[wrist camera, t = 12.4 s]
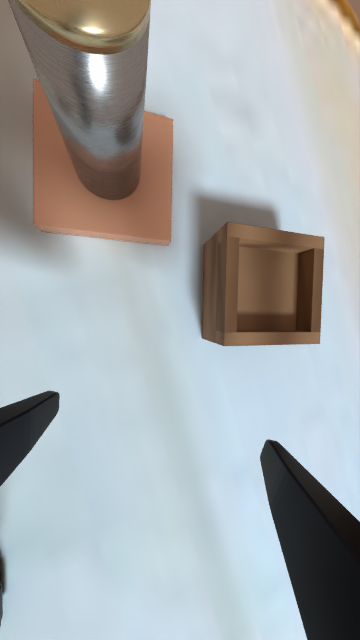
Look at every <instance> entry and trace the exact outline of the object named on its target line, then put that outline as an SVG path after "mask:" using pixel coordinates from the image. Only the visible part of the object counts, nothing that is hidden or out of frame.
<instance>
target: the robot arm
mask: <svg viewBox="0 0 360 640" xmlns="http://www.w3.org/2000/svg"><path fill="white" fill-rule="evenodd" d="M58 410H59V393H58V392H54V391H46V392H44V393H41V394H38V395H35V396H32V397H30V398H27V399H24V400H21V401H18V402H16V403H13V404H10V405H7V406H4V407H2V408H0V486H1V485H2V484H3V483H4V482H5V480H6V479H7V478H8V477H9V476H10V475H11V473H12V472H13V471H14V470H15V469H16V467H17V466H18V465H19V464H20V463H21V462H22V460H23V459H24V458H25V457H26V456H27V454H28V453H29V452H30V451H31V449H32V448H33V447H34V445H35V444H36V442H37V441H38V440H39V438H40V437H41V436H42V434H43V433H44V431H45V430H46V429H47V427H48V426H49V424H50V423H51V422H52V420H53V419H54V417H55V416H56V414H57V413H58ZM260 461H261V466H262V471H263V476H264V481H265V486H266V491H267V496H268V501H269V505H270V509H271V513H272V517H273V520H274V524H275V527H276V531H277V534H278V538H279V542H280V545H281V549H282V552H283V556H284V559H285V563H286V566H287V570H288V573H289V577H290V580H291V584H292V587H293V591H294V594H295V598H296V601H297V605H298V608H299V612H300V615H301V619H302V622H303V626H304V629H305V633H306V636H307V640H360V522H359V521H358V520H357V519H356V518H355V517H354V516H353V515H352V514H351V513H350V512H349V511H348V510H347V509H346V508H345V507H344V506H343V505H342V504H341V503H340V502H339V501H338V500H337V499H336V498H335V497H334V496H333V495H332V494H331V493H330V492H329V491H328V490H327V489H326V488H325V487H324V486H322V485H321V484H320V483H319V482H318V481H317V480H316V479H315V478H314V477H313V476H312V475H311V474H310V473H309V472H308V471H307V470H306V469H305V468H304V467H303V466H302V465H301V464H300V463H299V462H298V461H297V460H296V459H295V458H294V457H293V456H292V455H291V454H290V453H289V452H288V451H287V450H286V449H285V448H284V447H283V446H282V445H281V444H280V443H278V442H277V441H274V440H269V439H268V440H266V442H265V444H264V447H263V449H262V452H261V455H260ZM2 615H3V610H2V585H1V583H0V626H1V618H2Z"/></svg>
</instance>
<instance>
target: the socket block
mask: <svg viewBox="0 0 360 640" xmlns="http://www.w3.org/2000/svg"><path fill="white" fill-rule="evenodd" d="M323 258H324V237H319V236H313V235H307V234H300V233H294V232H288V231H281V230H275V229H269V228H262V227H256V226H250V225H243V224H237V223H231V222H227V223H226V224H225V225H224V226H223V227H222V228H221V229H220V230H219V231H218V232H217V233H216V234H215V235H214V236H213V237H212V238H211V239H210V240H209V241H207V242H206V243H205V244H204V278H203V320H202V338H203V339H206V340H208V341H211V342H214V343H217V344H220V345H222V346H249V345H289V344H320V328H321V305H322V282H323Z"/></svg>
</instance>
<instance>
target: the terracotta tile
mask: <svg viewBox="0 0 360 640" xmlns="http://www.w3.org/2000/svg"><path fill="white" fill-rule="evenodd" d="M172 149H173V119H170V118H167V117H163V116H160V115H156V114H153V113H149V112H146V111H144V121H143V138H142V154H141V171H140V181H139V184H138V186H137V188H136V190H135V191H134V192H133V193H132V194H131V195H130V196H128V197H126V198H124V199H121V200H107V199H103V198H100V197H98V196H96V195H94V194H93V193H91V192H90V191H89V190H88V189H87V188H85V187H84V185H83V184H82V183H81V181H80V180H79V178H78V176H77V174H76V171H75V169H74V166H73V164H72V161H71V159H70V156H69V153H68V151H67V148H66V146H65V143H64V141H63V138H62V136H61V133H60V131H59V128H58V125H57V123H56V120H55V118H54V115H53V113H52V110H51V108H50V105H49V103H48V100H47V97H46V95H45V92H44V90H43V87H42V85H41V82H40V81H37V80H34V79H33V170H34V225H35V226H36V227H37V228H38V229H39V230H41V231H42V232H50V233H59V234H68V235H77V236H86V237H95V238H103V239H112V240H121V241H130V242H139V243H148V244H157V245H165V246H168V245H169V243H170V241H171V203H172Z"/></svg>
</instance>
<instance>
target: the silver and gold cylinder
mask: <svg viewBox="0 0 360 640" xmlns="http://www.w3.org/2000/svg"><path fill="white" fill-rule="evenodd" d="M8 1H9V3H10V6H11V8H12V11H13V13H14V16H15V19H16V21H17V24H18V26H19V29H20V31H21V34H22V36H23V39H24V41H25V44H26V47H27V49H28V52H29V54H30V57H31V59H32V62H33V64H34V67H35V69H36V72H37V75H38V77H39V80H40V82H41V85H42V87H43V90H44V92H45V95H46V97H47V100H48V103H49V105H50V108H51V110H52V113H53V115H54V118H55V120H56V123H57V125H58V128H59V131H60V133H61V136H62V138H63V141H64V143H65V146H66V148H67V151H68V153H69V156H70V159H71V161H72V164H73V166H74V169H75V171H76V174H77V176H78V178H79V180H80V181H81V183H82V184H83V185H84V187H85V188H87V189H88V190H89V191H90V192H91V193H93V194H94V195H96V196H98V197H100V198H103V199H107V200H121V199H124V198H126V197H128V196H130V195H131V194H132V193H133V192H134V191H135V190H136V188H137V186H138V184H139V181H140V171H141V154H142V138H143V121H144V105H145V89H146V72H147V56H148V39H149V23H150V7H151V0H8Z"/></svg>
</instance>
